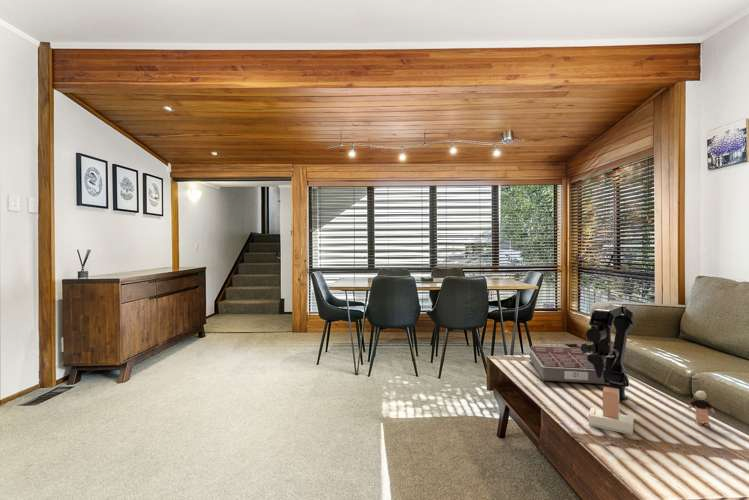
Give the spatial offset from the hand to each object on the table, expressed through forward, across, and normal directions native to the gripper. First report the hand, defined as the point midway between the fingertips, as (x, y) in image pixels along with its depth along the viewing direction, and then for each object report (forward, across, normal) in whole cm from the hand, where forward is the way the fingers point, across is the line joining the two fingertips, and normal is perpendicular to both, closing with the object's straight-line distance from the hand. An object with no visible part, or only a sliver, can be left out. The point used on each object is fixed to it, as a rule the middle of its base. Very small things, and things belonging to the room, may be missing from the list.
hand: (603, 375), depth 168 cm
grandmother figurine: (+13, -9, +31) cm, 35 cm away
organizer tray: (+13, -35, -31) cm, 48 cm away
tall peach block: (+12, +17, +9) cm, 23 cm away
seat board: (+13, +15, +8) cm, 22 cm away
